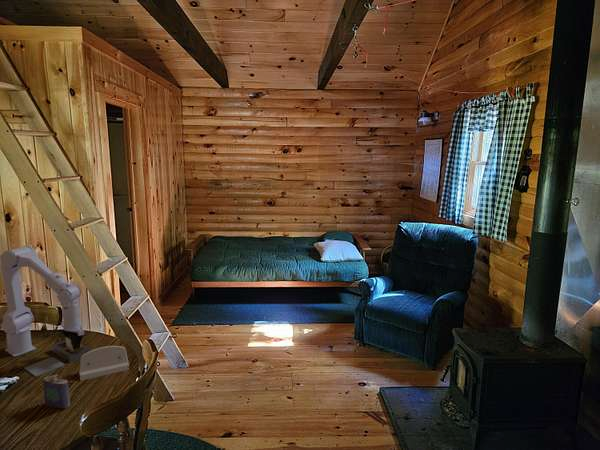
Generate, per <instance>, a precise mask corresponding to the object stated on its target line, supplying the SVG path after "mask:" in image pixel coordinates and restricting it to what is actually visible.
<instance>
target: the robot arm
mask: <svg viewBox="0 0 600 450" xmlns="http://www.w3.org/2000/svg"><path fill="white" fill-rule="evenodd" d="M0 263H1V264H0V271H1V277H2V282H3V287H4V294H5V301H6V305H7V310H6V311H5V312H4V314H3V315H2V323H1V327H2V330H3V331H4V332H5V333H6V343H7V348H5V349H4V351H5V352H6V353H8V354H10V355H11V356H12V357H18V356H20V355H23V354H27V353H29V352H31V351H32V352H33V351H35V350H36V349H37V347H35V346H34V345H33V344H32V335H31V328H32V324H33V323H34V320H35V317H34V315H33V313H32V312H31V308H30V307H28V306H25V302H24V301H25V300H24V295H23V289H22V282H21V276H20V272H19V270H20V269H21V268H22V267H23V268H24V267H26V268H30V269H32V270H33V272H35V273H37V274H38V275H39V276H41V277H42V278H43V279H44V284H45V285H46V286H48V287H49V288H50V289H51V290H52V291H53V292H54V293H55V294H56V297H57V300H58V301H59V303H60V306H61V308H62V311H61V312H62V319H63V320H62V321H61V322H60V325H61V327H62V328H63V329H61V330H60V333H61V334H62V335H63V338H64V340H66V337H67V336H69V337H70V339H71V341H72V345H73V349H74V350H76V349H79V348H80V345H81V344H82V341H83V340H82V339H83V337H84V336H85V333H86V331H85V330H84V328H83V327H82V326H84V322H82V321H81V317H80V316H81V314H80V304H79V297H81V295H82V290H81V288H80V286H79V285H78V284H75V283H72V282H69V281H68V280H66V278H64V277H63V275H62V274H61V273H59V272H53V271H52V270H51V269H50V268H49V267H48V266H47V265H46V264H45V263H44V262H43V261H42V259H40V257H38V252H37V251H36V250H35V249H34V248H33V247H32V246H30V245H24V246H20V247H18V248H13V249H10V250H9V249H8V250H5V251H4V252H2V253H1V254H0Z"/></svg>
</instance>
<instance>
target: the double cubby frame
mask: <svg viewBox="0 0 600 450" xmlns="http://www.w3.org/2000/svg"><path fill="white" fill-rule="evenodd" d="M50 351H51V352H52V353H53V354H55V355H57V356H59V357H60V358H61V359H64V360H65V361H67V362H68V363H73V362H76V361H78V360H81V356H82V355H83V354H85V353H87V352H89V351H91V349H90V347H87V346H86V345H84V344H82V350H80V351H77V352H74V353H72V354H70V353H68V352H67V348H66V339H64V340H60V341H58V342H55V343H53V344H50Z"/></svg>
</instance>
